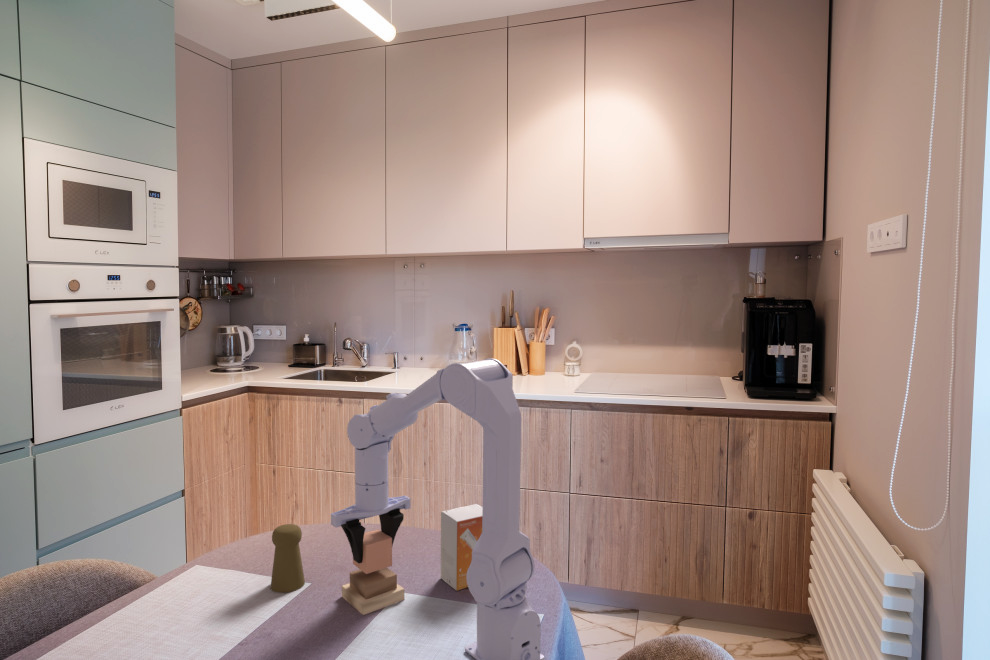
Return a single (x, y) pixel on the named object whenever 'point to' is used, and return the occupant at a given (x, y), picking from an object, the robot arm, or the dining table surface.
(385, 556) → the terracotta cube
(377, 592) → the walnut top slab
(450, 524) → the small box
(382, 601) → the birch base slab
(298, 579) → the olive game pawn
